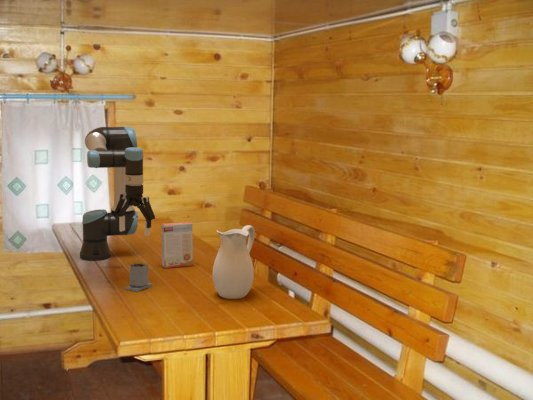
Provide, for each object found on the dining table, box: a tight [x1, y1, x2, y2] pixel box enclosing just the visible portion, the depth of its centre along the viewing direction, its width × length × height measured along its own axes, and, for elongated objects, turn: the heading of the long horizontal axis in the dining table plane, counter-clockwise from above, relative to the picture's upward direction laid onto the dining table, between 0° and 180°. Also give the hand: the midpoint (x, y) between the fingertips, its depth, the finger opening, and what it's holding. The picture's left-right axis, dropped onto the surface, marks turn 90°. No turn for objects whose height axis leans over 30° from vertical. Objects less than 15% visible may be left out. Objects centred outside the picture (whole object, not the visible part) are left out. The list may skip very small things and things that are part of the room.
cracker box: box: [160, 221, 194, 269], centre depth 304 cm, size 14×6×21 cm, turn 113°
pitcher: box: [212, 224, 256, 300], centre depth 264 cm, size 24×17×28 cm
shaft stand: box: [125, 282, 153, 293], centre depth 269 cm, size 6×10×8 cm, turn 152°
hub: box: [129, 262, 149, 287], centre depth 269 cm, size 7×7×8 cm
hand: (134, 233), depth 274 cm, fingers open, 13 cm apart
